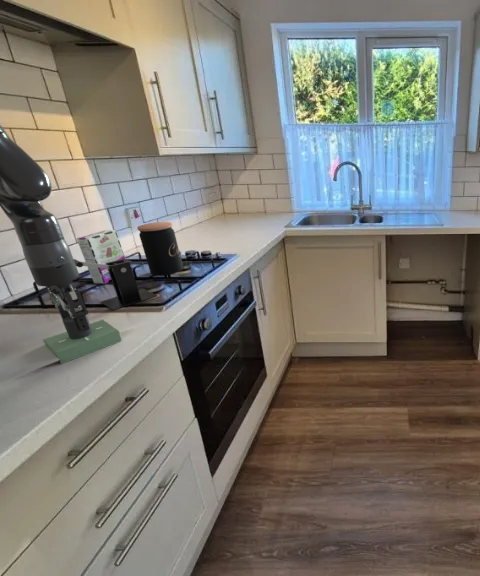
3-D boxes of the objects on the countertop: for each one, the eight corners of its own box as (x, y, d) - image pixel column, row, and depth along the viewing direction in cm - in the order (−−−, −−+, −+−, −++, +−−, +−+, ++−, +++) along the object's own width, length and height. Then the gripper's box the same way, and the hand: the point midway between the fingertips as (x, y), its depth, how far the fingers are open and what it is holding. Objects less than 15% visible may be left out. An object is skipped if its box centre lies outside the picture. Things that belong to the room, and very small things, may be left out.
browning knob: (95, 333, 86) (88, 315, 85) (72, 341, 83) (65, 322, 81) (89, 328, 89) (82, 310, 87) (67, 335, 86) (59, 317, 84)
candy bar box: (119, 272, 135) (105, 229, 129) (130, 273, 135) (117, 229, 128) (92, 283, 125) (75, 237, 119) (104, 284, 124) (88, 238, 118)
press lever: (75, 268, 96) (77, 260, 96) (69, 265, 98) (71, 256, 98) (127, 274, 106) (129, 266, 106) (120, 271, 109) (122, 263, 108)
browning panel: (61, 364, 80) (55, 352, 79) (47, 350, 86) (42, 338, 84) (121, 340, 89) (117, 329, 88) (106, 329, 94) (102, 318, 93)
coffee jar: (180, 276, 130) (167, 227, 123) (147, 279, 128) (132, 229, 121) (187, 266, 140) (175, 220, 133) (156, 269, 137) (143, 223, 130)
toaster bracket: (114, 313, 103) (99, 271, 98) (101, 305, 109) (86, 265, 104) (158, 298, 112) (147, 259, 107) (144, 291, 117) (132, 254, 112)
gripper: (18, 260, 80) (46, 324, 86) (39, 271, 72) (68, 341, 79) (60, 251, 86) (83, 312, 92) (84, 261, 78) (107, 327, 84)
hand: (76, 326), depth 85 cm, fingers open, 8 cm apart
